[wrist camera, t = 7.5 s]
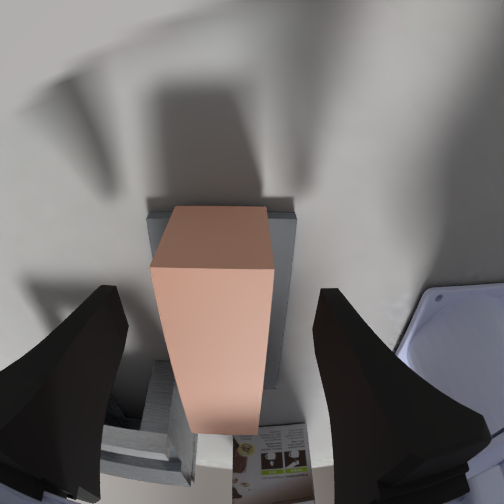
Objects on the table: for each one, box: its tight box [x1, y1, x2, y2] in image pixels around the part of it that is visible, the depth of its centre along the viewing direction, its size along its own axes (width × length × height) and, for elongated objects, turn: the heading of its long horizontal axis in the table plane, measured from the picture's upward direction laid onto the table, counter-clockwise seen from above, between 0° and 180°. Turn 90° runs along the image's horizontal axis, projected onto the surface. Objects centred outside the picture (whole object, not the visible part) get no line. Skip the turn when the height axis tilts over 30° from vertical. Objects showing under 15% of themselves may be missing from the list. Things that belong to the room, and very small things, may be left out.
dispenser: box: [100, 360, 198, 487], centre depth 19 cm, size 8×11×6 cm
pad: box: [146, 212, 297, 389], centre depth 16 cm, size 6×12×1 cm, turn 179°
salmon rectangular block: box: [150, 206, 275, 435], centre depth 13 cm, size 4×11×4 cm, turn 178°
